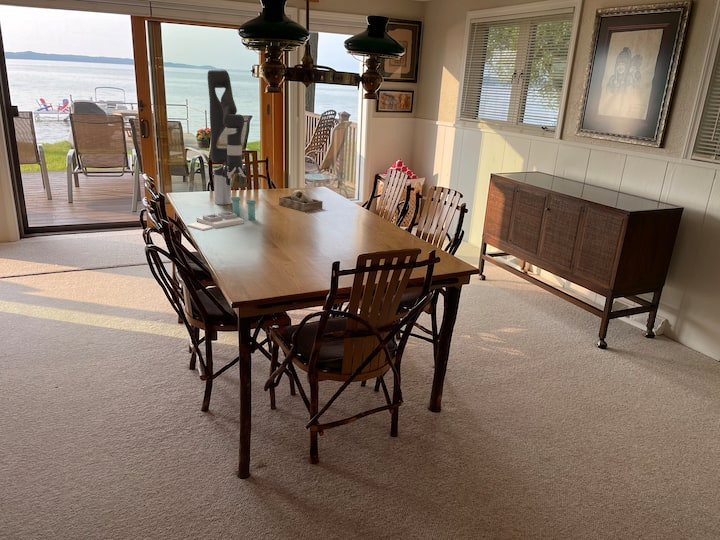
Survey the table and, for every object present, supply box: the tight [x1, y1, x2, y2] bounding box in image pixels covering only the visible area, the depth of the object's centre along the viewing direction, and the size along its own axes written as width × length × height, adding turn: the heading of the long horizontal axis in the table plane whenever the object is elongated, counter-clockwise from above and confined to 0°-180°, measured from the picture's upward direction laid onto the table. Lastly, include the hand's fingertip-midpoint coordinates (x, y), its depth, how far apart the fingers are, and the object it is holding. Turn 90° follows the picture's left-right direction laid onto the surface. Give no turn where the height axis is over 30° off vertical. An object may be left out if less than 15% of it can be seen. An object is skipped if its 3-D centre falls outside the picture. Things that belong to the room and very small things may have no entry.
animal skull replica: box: [290, 189, 313, 204], centre depth 314 cm, size 8×17×10 cm, turn 52°
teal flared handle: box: [231, 196, 241, 218], centre depth 285 cm, size 5×5×10 cm
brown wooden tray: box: [278, 195, 323, 213], centre depth 316 cm, size 23×14×4 cm, turn 48°
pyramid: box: [231, 168, 249, 189], centre depth 364 cm, size 13×13×18 cm
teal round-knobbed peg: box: [246, 199, 257, 221], centre depth 280 cm, size 5×5×10 cm
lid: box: [186, 221, 214, 231], centre depth 261 cm, size 12×6×1 cm, turn 56°
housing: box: [196, 211, 245, 229], centre depth 272 cm, size 17×17×4 cm
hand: (235, 184), depth 281 cm, fingers open, 8 cm apart
